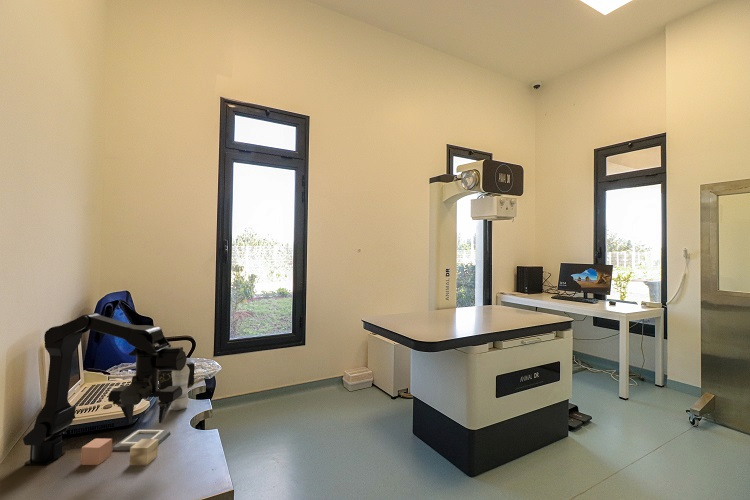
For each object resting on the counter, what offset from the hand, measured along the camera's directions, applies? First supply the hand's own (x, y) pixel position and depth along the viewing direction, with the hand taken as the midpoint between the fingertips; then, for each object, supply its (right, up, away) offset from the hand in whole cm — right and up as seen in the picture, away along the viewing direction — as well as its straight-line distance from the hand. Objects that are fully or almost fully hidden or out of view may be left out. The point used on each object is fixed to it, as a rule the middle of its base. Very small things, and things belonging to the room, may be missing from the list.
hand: (145, 422), depth 102 cm
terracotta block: (-14, -11, -1) cm, 18 cm away
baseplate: (-7, -11, +10) cm, 16 cm away
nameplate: (-28, -13, +57) cm, 64 cm away
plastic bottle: (-10, -12, +34) cm, 38 cm away
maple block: (0, -11, 0) cm, 11 cm away
